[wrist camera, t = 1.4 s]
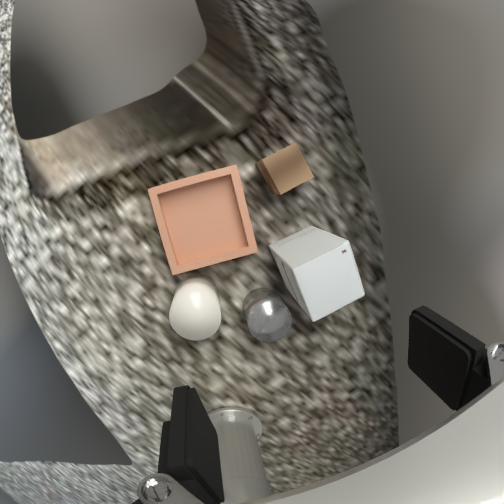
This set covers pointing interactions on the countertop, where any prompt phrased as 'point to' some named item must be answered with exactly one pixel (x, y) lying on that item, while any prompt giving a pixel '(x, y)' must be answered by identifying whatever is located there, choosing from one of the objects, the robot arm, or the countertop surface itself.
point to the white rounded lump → (195, 308)
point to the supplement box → (318, 271)
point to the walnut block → (285, 169)
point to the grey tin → (266, 315)
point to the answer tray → (203, 219)
